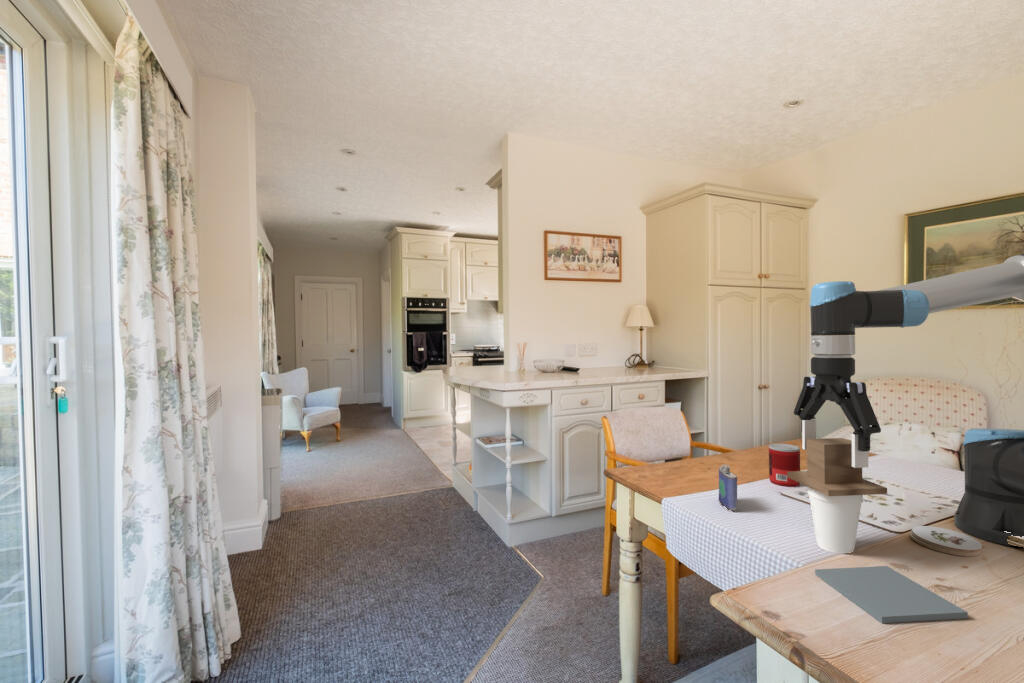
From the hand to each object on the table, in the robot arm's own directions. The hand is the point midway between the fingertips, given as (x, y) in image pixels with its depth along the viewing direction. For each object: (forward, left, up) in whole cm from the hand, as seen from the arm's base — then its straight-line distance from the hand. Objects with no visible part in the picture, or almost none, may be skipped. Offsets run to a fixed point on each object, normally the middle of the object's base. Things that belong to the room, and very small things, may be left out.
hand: (832, 457), depth 93 cm
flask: (+10, -24, -19) cm, 32 cm away
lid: (0, 0, -6) cm, 6 cm away
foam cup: (0, 0, -19) cm, 19 cm away
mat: (+5, +17, -19) cm, 26 cm away
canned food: (-16, -39, -19) cm, 46 cm away
